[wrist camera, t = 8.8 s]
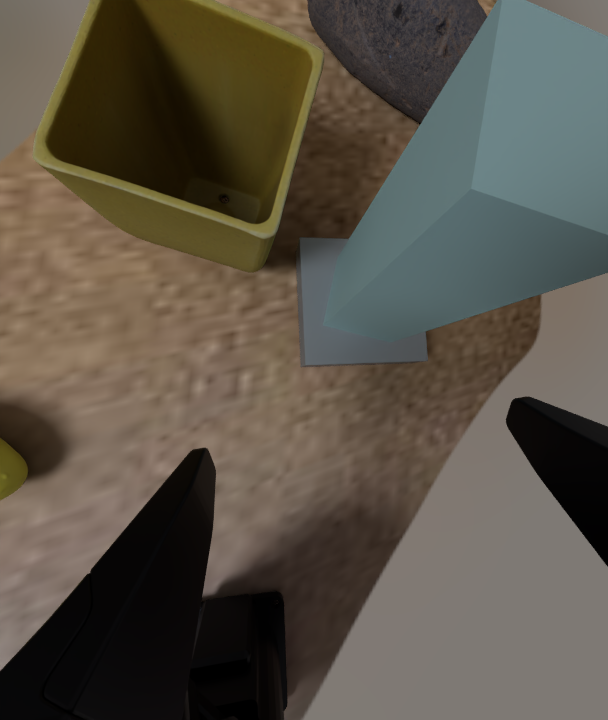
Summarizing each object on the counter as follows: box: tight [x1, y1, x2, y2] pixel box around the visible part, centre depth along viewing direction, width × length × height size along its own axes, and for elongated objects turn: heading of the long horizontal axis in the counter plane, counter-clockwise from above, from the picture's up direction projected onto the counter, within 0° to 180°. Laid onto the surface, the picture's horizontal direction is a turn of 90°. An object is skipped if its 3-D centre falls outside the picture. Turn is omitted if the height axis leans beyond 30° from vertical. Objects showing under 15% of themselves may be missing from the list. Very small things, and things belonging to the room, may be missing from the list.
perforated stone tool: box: [307, 0, 487, 124], centre depth 20 cm, size 15×5×7 cm, turn 52°
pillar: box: [323, 0, 608, 342], centre depth 13 cm, size 4×4×13 cm
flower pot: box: [33, 0, 324, 272], centre depth 16 cm, size 9×9×9 cm
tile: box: [296, 237, 428, 367], centre depth 20 cm, size 8×8×2 cm
